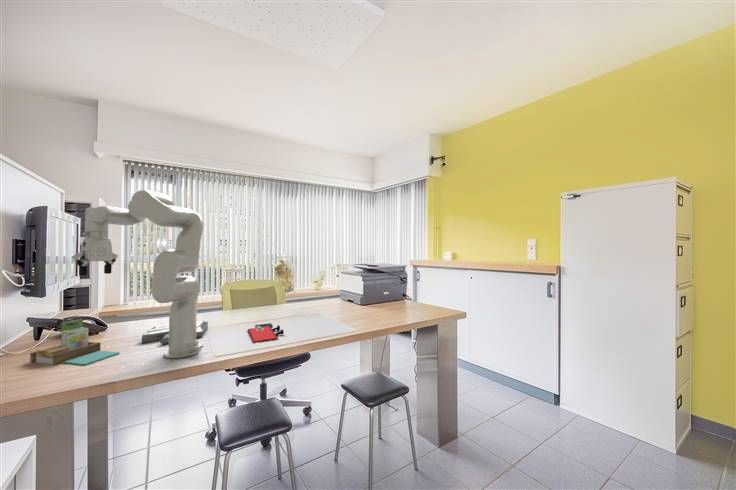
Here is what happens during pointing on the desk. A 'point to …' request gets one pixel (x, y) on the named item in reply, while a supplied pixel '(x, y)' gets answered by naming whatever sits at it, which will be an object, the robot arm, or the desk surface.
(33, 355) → the tray
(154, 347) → the desk surface
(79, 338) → the ink box
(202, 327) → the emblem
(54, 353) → the oak offcut
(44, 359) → the grey offcut
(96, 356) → the teal mat
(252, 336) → the red board with handle
